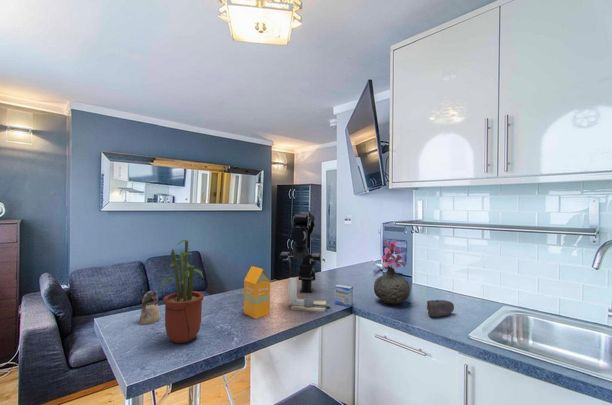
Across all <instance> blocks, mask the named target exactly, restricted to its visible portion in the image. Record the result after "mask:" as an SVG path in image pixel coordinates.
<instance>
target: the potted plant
mask: <svg viewBox="0 0 612 405" xmlns="http://www.w3.org/2000/svg"><path fill="white" fill-rule="evenodd" d="M181 243H184V252H183V251H182V252H181V251H180V252H179V253H178V256H179V258H177V256H176V252H175V250H174V248H172V249H171V251H170V252H171V253H170V254H171V255H170V256H171V258H172V261H171V262H170V263H169V265H170V267H172V266H173V268H174V275H175V277H169V278H166V279H164V280H163V281H162V282H161V283H160V285H159V287H158V288H157V290H155V291H156V292H157V293H158V291H159V290H160V288H162V287H163V285H165V284H166V283H168V282H169V281H171V280H174V278H175V284H176V292H172V293H170V294H168V295H166V296H164V297H163V299H162V300H163V302H162V304H164V305H165V307H164V327H165V332H166V336H167V337H168V339H169V340H170V341H172V342H174V343H177V344H184V343H188V342H190V341H192V340H193V339H194V338H196V336H197V335H198V333H199V332H200V329H201V325H202V324H201V323H202V315H203V314H202V309H203V308H202V305H203V302H202V301H203V300H204V297H205V294H204V293H203V292H201V291H197V290H195V291H194V290H193V288H194V286H193V283H194V272H197V273H199V274H200V276H201V278H202V280H203V279H204V278H203V271H201V270H200V269H198V268H195V266H194V265H191V264H190V263H189V262H188V259H189V258H188V257H189V255H192V252H189V240H188V239H182V240H181V241H179V242H178V243H177V244H176V245H175V247H178V245H180V244H181ZM183 258H184V261H183ZM178 260H179V267H178ZM191 263H196V262H194V261H193V262H191ZM179 268H180V269H179ZM179 272H180V276H179Z"/></svg>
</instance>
